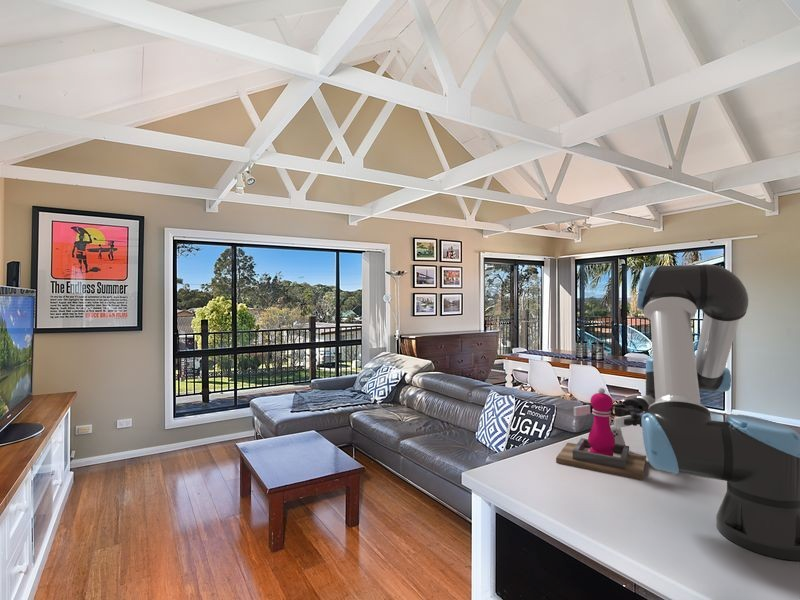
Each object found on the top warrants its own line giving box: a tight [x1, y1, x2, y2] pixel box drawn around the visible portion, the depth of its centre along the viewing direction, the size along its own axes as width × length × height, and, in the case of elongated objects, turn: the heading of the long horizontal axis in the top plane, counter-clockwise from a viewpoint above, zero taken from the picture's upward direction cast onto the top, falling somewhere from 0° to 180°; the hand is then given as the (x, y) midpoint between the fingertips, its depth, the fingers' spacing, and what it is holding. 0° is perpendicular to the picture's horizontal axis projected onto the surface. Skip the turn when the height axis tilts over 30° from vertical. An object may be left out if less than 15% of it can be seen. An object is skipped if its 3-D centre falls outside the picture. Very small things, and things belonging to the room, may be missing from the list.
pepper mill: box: [587, 387, 615, 456], centre depth 125 cm, size 7×7×20 cm
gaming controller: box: [610, 426, 626, 445], centre depth 138 cm, size 10×4×7 cm, turn 33°
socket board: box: [555, 437, 647, 481], centre depth 125 cm, size 16×22×4 cm
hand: (593, 417), depth 124 cm, fingers open, 13 cm apart
